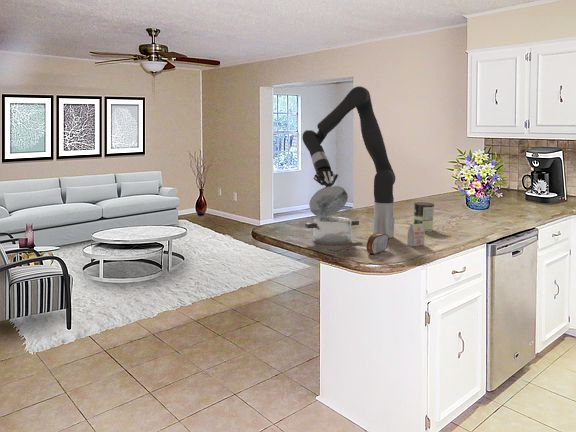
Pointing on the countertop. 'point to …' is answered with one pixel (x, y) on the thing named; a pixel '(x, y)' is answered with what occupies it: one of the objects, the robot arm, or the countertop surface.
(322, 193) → the cooker lid
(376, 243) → the tin
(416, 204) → the coffee can
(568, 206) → the countertop surface
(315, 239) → the cooker pot
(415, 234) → the milk carton
